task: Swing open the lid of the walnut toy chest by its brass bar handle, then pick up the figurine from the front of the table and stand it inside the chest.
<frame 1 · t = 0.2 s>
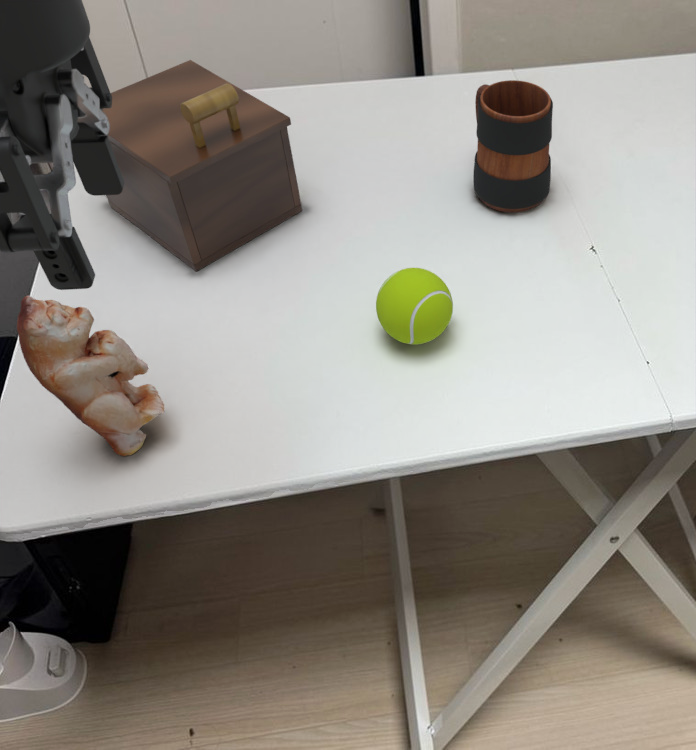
hand: (92, 236, 48), 25 cm above the table, tool pointing down, fingers open, 8 cm apart
mug: (503, 186, 95), on the table
tennis ball: (416, 334, 79), on the table
chest: (206, 208, 91), on the table
figurine: (125, 435, 70), on the table
lid: (176, 96, 80), point 14 cm above the table, hinge at 0.0°
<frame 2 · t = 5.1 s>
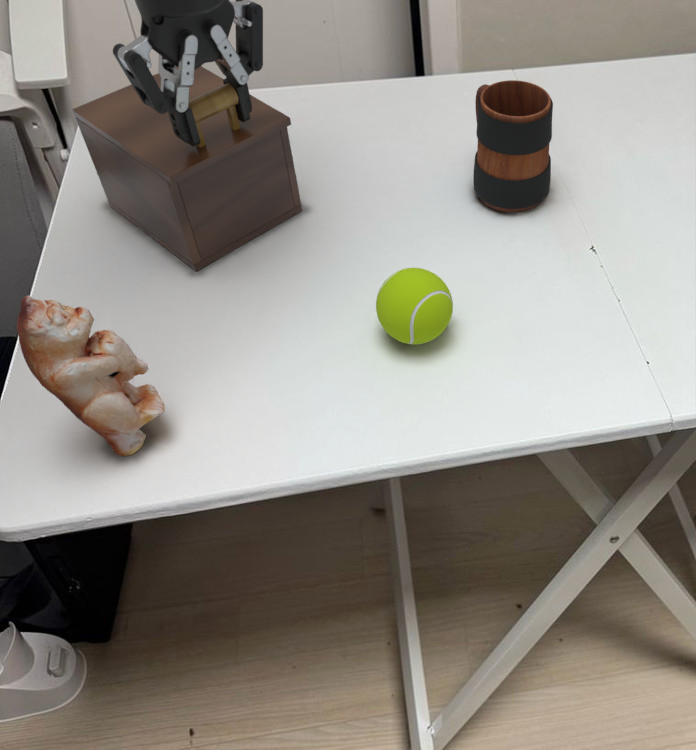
hand: (216, 129, 79), 13 cm above the table, tool pointing down, fingers closed on lid, 5 cm apart
lid: (176, 96, 80), point 14 cm above the table, hinge at -0.1°, touching gripper
everything else where it was.
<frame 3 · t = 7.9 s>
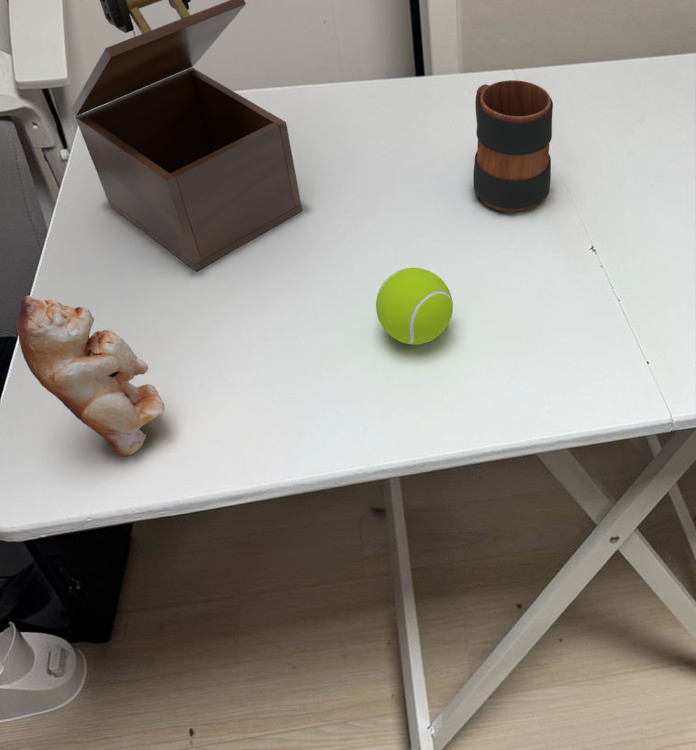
hand: (152, 18, 75), 21 cm above the table, tool pointing down, fingers closed on lid, 5 cm apart
lid: (141, 36, 78), point 18 cm above the table, hinge at 40.4°, touching gripper
everything else where it was.
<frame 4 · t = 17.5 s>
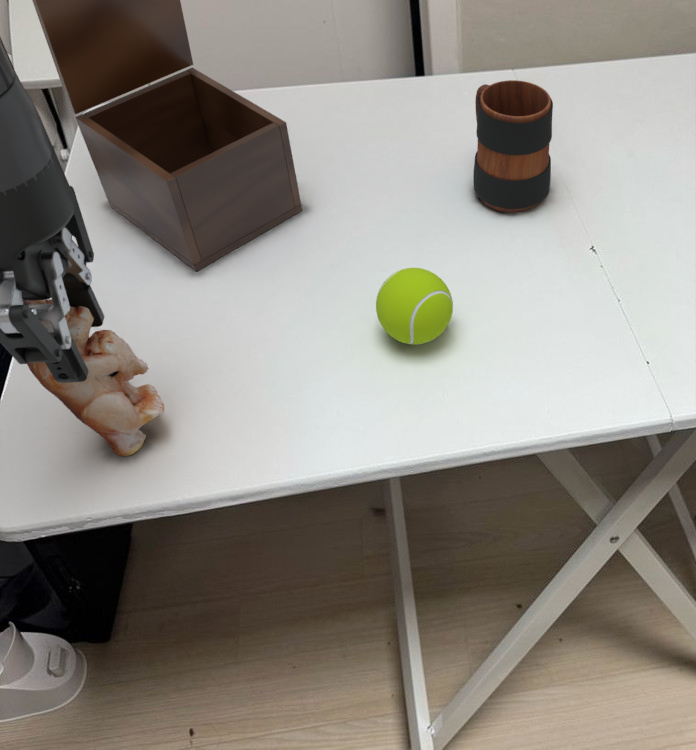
hand: (82, 350, 62), 10 cm above the table, tool pointing down, fingers closed on figurine, 5 cm apart
figurine: (125, 436, 70), on the table, touching gripper
lid: (100, 0, 80), point 20 cm above the table, hinge at 84.1°
everything else where it was.
when the fingers open (11 cm above the table, at t = 27.2 s): figurine stays where it is, resting on chest.
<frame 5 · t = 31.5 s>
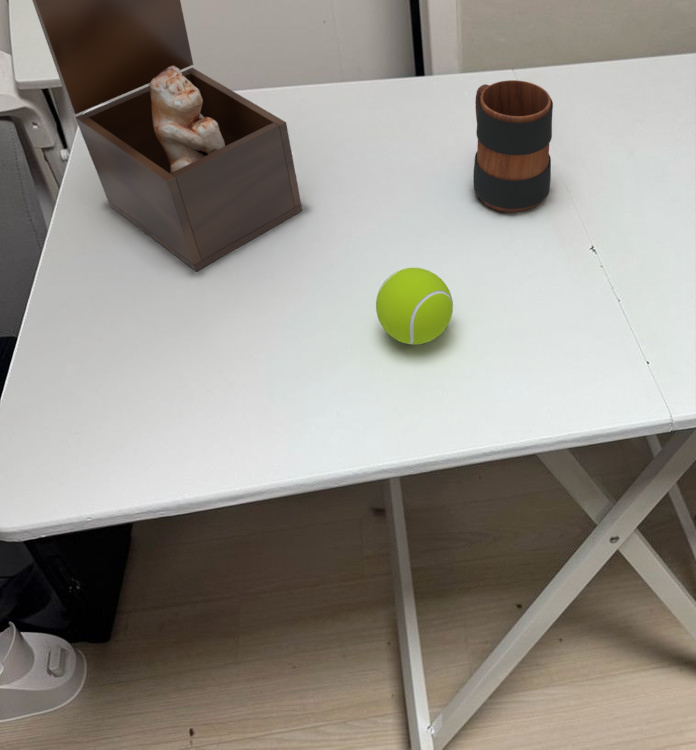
figurine: (213, 210, 90), point 1 cm above the table, touching chest
everything else where it was.
at the end: lid at +84° (first picture: +0°); figurine inside the target area in the chest (1.6 cm from its centre), point 0.7 cm above the chest's base; figurine tilted 0° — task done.
